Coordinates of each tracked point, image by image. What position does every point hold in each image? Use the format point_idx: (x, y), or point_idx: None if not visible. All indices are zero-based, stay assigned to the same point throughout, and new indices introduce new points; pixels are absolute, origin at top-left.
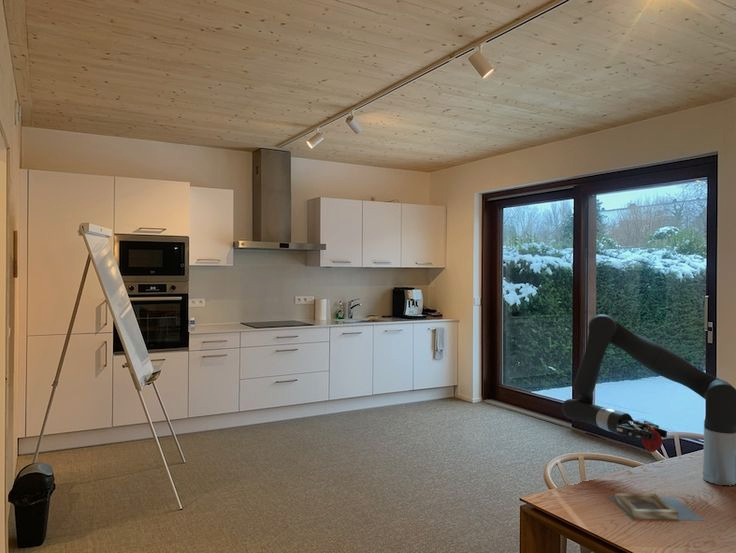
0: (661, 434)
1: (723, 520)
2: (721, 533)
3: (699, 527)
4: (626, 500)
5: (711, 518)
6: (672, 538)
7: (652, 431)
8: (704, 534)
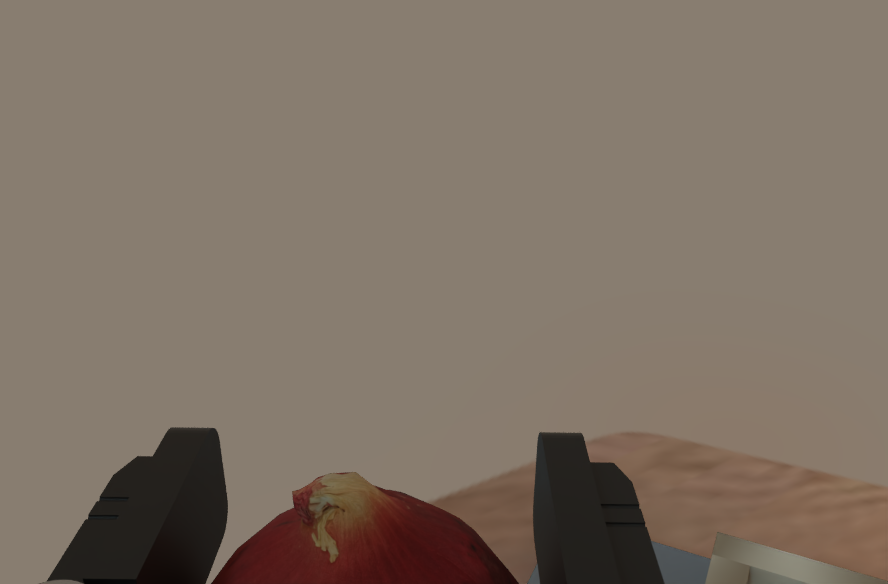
0: (205, 537)
1: None
2: None
3: None
4: None
5: None
6: (851, 525)
7: (418, 502)
8: (644, 498)
